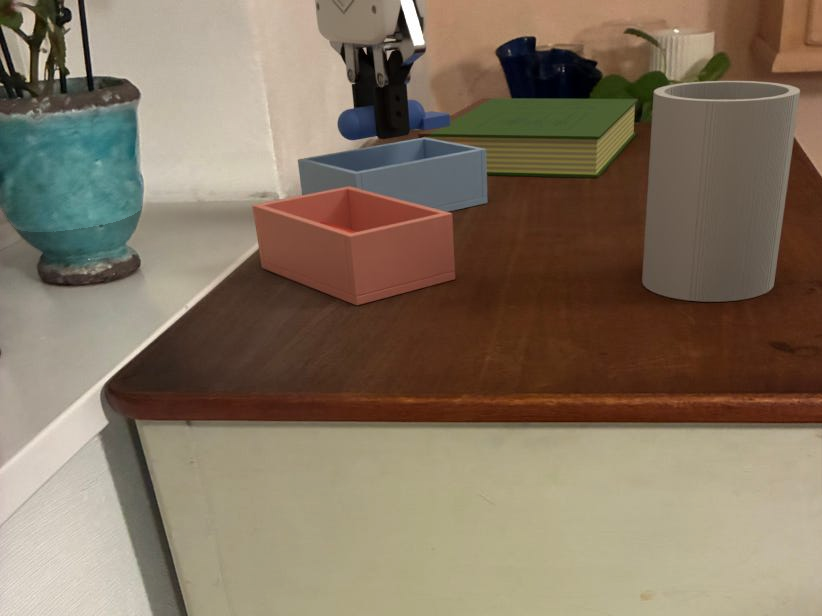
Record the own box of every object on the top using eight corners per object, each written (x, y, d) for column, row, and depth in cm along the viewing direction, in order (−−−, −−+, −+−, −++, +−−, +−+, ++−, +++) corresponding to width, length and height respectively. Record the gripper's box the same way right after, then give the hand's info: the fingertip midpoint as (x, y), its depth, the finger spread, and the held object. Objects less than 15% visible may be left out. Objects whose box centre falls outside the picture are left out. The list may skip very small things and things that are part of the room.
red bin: (261, 268, 78) (251, 205, 75) (355, 246, 82) (349, 185, 80) (356, 305, 70) (349, 236, 67) (455, 279, 74) (452, 213, 71)
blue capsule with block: (349, 144, 86) (346, 112, 84) (333, 140, 88) (329, 109, 86) (450, 126, 91) (449, 96, 90) (433, 123, 93) (431, 93, 92)
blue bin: (360, 231, 86) (354, 173, 84) (304, 214, 92) (297, 159, 90) (487, 203, 94) (486, 148, 91) (428, 188, 100) (425, 137, 97)
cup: (621, 291, 70) (631, 97, 63) (671, 258, 77) (685, 78, 70) (748, 308, 66) (773, 104, 60) (790, 272, 73) (817, 83, 66)
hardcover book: (483, 132, 124) (482, 98, 122) (635, 134, 120) (637, 99, 118) (418, 174, 105) (415, 135, 103) (596, 179, 100) (597, 137, 98)
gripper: (266, -122, 81) (299, 131, 92) (380, -134, 71) (402, 152, 82) (344, -123, 85) (367, 120, 96) (463, -135, 75) (473, 139, 86)
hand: (383, 132), depth 89 cm, fingers closed on blue capsule with block, 2 cm apart
